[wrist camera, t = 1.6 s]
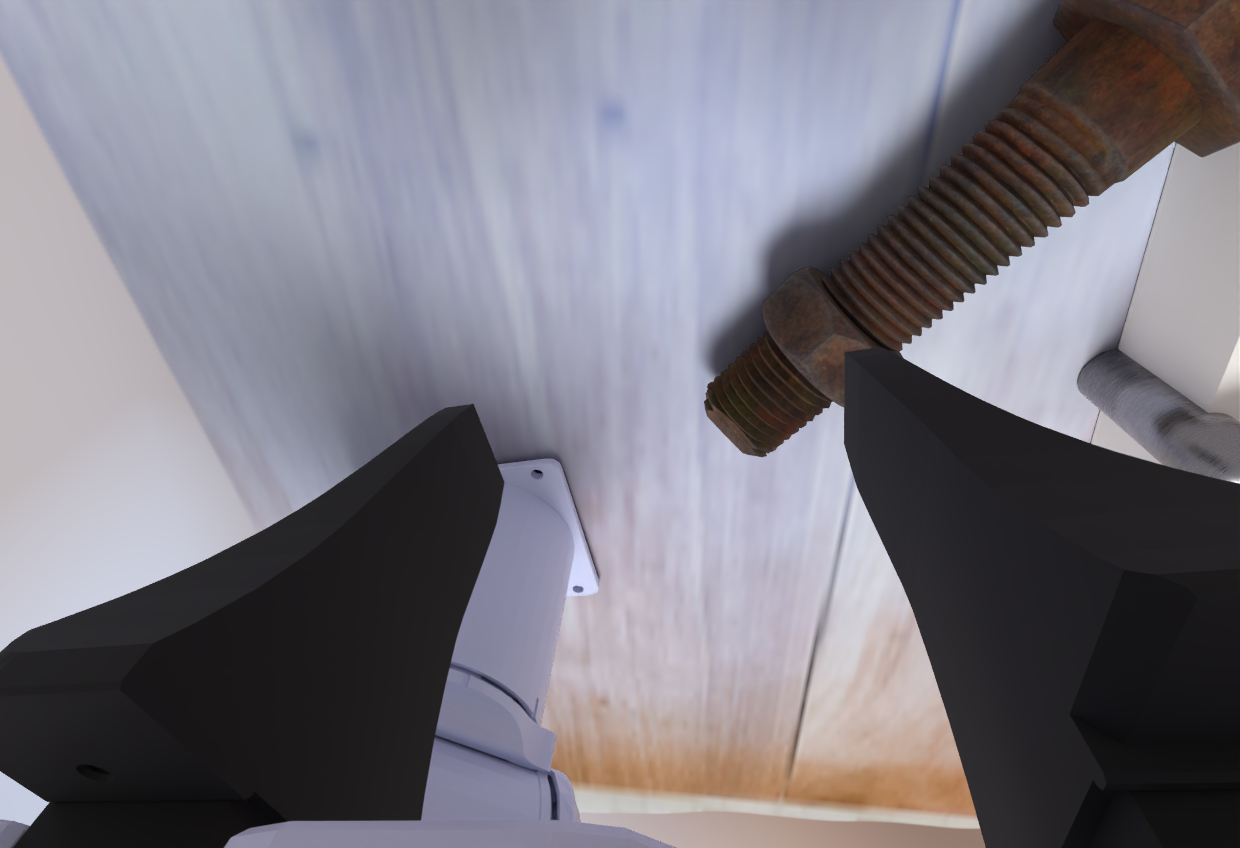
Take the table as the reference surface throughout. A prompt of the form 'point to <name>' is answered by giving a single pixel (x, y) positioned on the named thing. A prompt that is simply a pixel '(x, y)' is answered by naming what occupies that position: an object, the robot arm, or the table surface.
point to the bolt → (994, 200)
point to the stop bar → (1180, 330)
